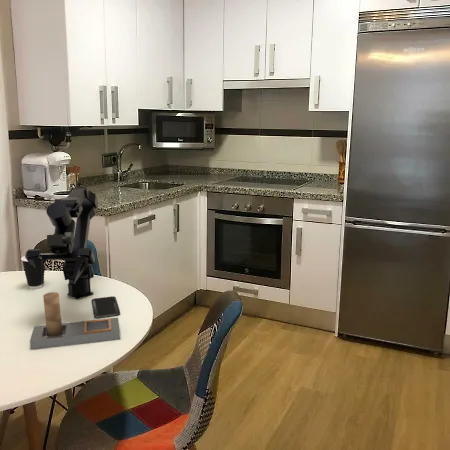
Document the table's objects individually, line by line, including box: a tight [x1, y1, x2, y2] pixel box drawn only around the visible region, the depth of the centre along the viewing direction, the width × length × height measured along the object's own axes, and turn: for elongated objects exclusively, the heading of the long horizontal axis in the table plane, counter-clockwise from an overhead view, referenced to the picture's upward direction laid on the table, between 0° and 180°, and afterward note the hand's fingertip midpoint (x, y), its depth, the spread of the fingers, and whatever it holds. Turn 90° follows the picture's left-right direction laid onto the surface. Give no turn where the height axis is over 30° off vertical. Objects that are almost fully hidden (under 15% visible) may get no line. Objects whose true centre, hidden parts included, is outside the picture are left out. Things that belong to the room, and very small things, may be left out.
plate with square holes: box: [29, 317, 121, 350], centre depth 133 cm, size 23×9×3 cm, turn 105°
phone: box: [91, 296, 121, 320], centre depth 153 cm, size 8×1×15 cm
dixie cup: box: [20, 255, 45, 290], centre depth 170 cm, size 8×8×11 cm
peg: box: [42, 291, 64, 337], centre depth 130 cm, size 4×4×13 cm
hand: (57, 283), depth 136 cm, fingers open, 9 cm apart
